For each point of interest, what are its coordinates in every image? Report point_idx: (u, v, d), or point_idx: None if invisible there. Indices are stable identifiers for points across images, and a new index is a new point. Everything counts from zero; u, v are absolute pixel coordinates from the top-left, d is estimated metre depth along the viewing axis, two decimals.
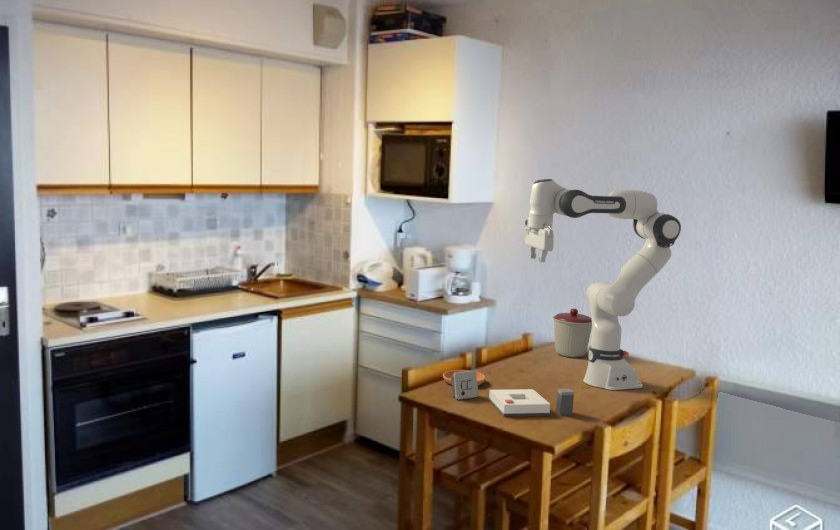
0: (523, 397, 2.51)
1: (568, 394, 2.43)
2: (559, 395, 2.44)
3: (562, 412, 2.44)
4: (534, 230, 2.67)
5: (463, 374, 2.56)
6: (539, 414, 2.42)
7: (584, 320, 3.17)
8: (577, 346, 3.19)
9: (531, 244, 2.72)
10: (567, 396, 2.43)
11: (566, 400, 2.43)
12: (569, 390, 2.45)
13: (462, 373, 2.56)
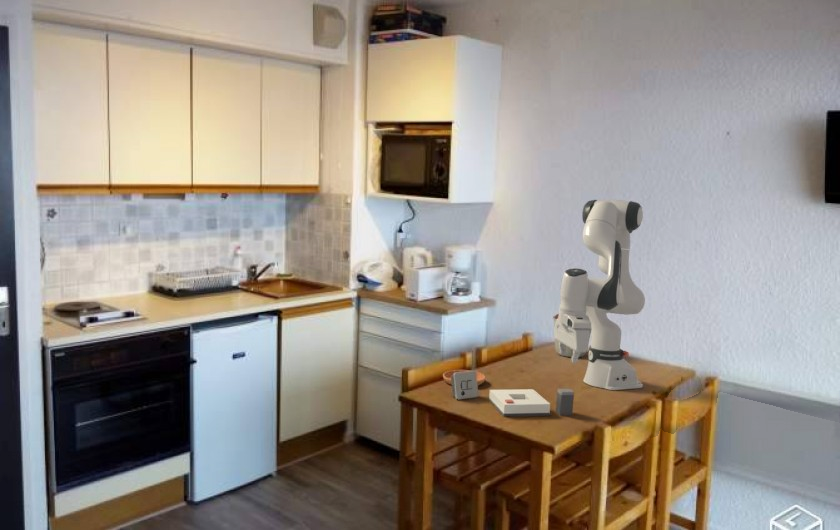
0: (523, 397, 2.51)
1: (568, 394, 2.43)
2: (559, 395, 2.44)
3: (562, 412, 2.44)
4: None
5: (463, 374, 2.56)
6: (539, 414, 2.42)
7: None
8: None
9: None
10: (567, 396, 2.43)
11: (566, 400, 2.43)
12: (569, 390, 2.45)
13: (462, 373, 2.56)
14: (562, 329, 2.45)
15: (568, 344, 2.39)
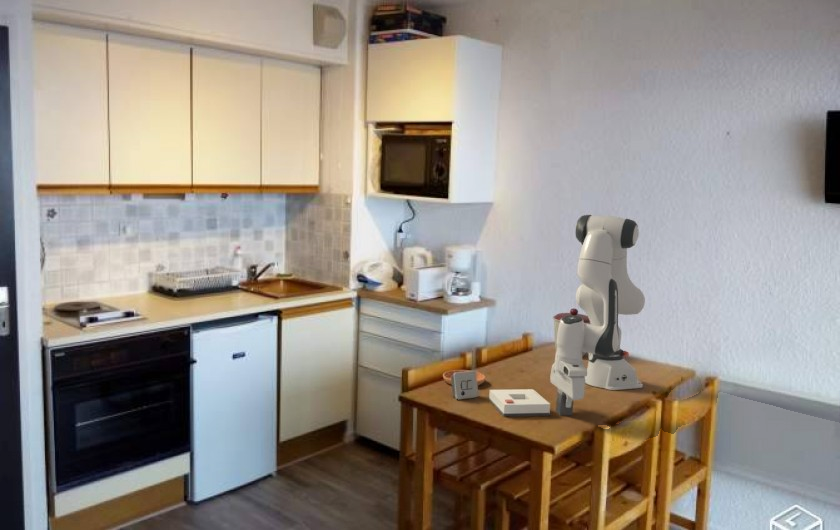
0: (523, 397, 2.51)
1: None
2: (559, 395, 2.44)
3: (562, 412, 2.44)
4: None
5: (463, 374, 2.56)
6: (539, 414, 2.42)
7: (584, 320, 3.17)
8: None
9: None
10: None
11: None
12: None
13: (462, 373, 2.56)
14: (558, 375, 2.47)
15: (564, 391, 2.41)
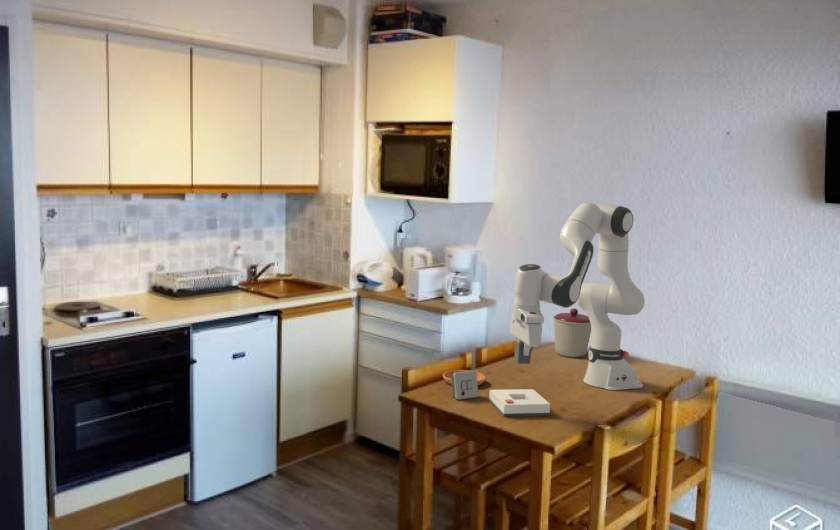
0: (523, 397, 2.51)
1: None
2: (517, 344, 2.44)
3: (520, 360, 2.44)
4: None
5: (463, 374, 2.56)
6: (539, 414, 2.42)
7: (584, 320, 3.17)
8: (577, 346, 3.19)
9: None
10: None
11: None
12: None
13: (462, 373, 2.56)
14: (517, 324, 2.47)
15: (522, 339, 2.42)
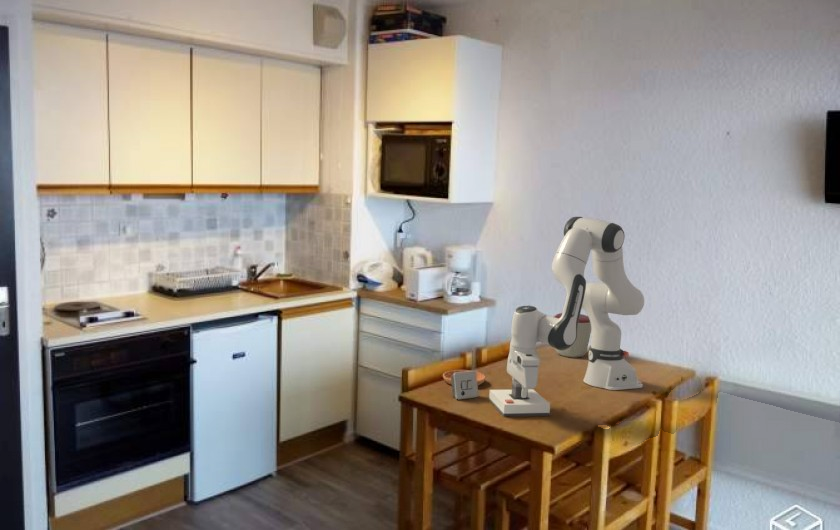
0: None
1: None
2: (514, 387, 2.47)
3: None
4: None
5: (463, 374, 2.56)
6: (539, 414, 2.42)
7: (584, 320, 3.17)
8: (577, 346, 3.19)
9: None
10: (521, 388, 2.46)
11: None
12: None
13: (462, 373, 2.56)
14: (514, 364, 2.49)
15: (518, 380, 2.44)
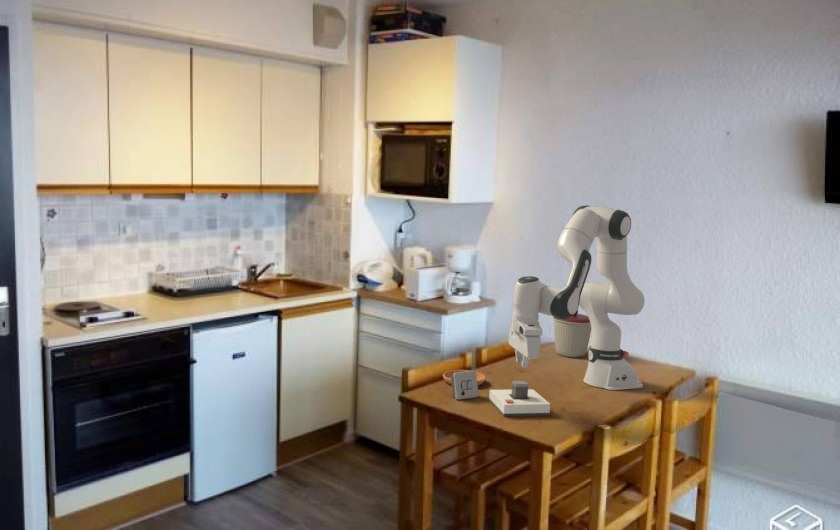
0: None
1: (522, 386, 2.46)
2: (514, 387, 2.47)
3: None
4: None
5: (463, 374, 2.56)
6: (539, 414, 2.42)
7: (584, 320, 3.17)
8: (577, 346, 3.19)
9: None
10: (521, 388, 2.46)
11: (520, 392, 2.46)
12: (524, 382, 2.48)
13: (462, 373, 2.56)
14: (516, 336, 2.48)
15: (520, 351, 2.42)
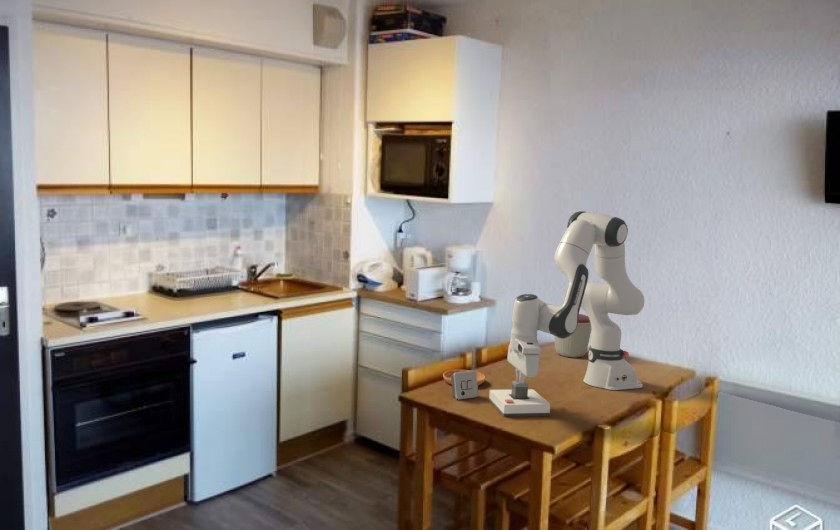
0: None
1: (522, 386, 2.46)
2: (514, 387, 2.47)
3: None
4: None
5: (463, 374, 2.56)
6: (539, 414, 2.42)
7: (584, 320, 3.17)
8: (577, 346, 3.19)
9: None
10: (521, 388, 2.46)
11: (520, 392, 2.46)
12: None
13: (462, 373, 2.56)
14: (514, 353, 2.49)
15: (519, 368, 2.43)
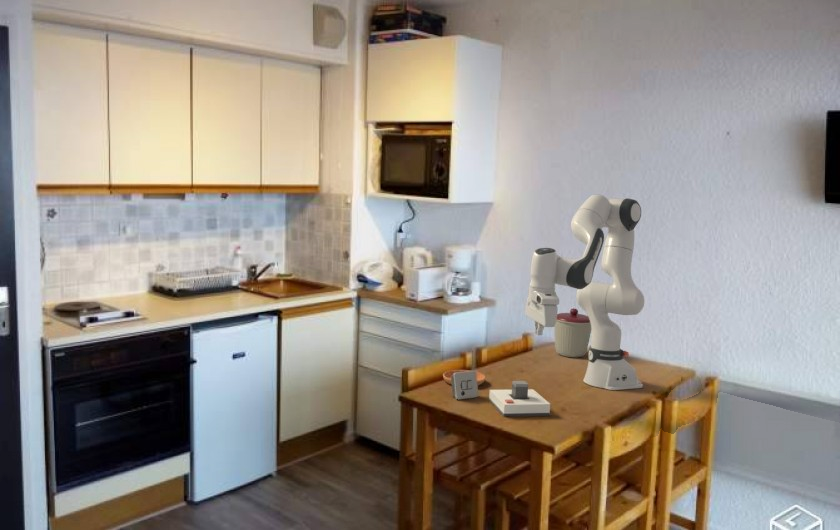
0: None
1: (522, 386, 2.46)
2: (514, 387, 2.47)
3: None
4: None
5: (463, 374, 2.56)
6: (539, 414, 2.42)
7: (584, 320, 3.17)
8: (577, 346, 3.19)
9: None
10: (521, 388, 2.46)
11: (520, 392, 2.46)
12: (524, 382, 2.48)
13: (462, 373, 2.56)
14: (532, 306, 2.55)
15: (538, 320, 2.50)
